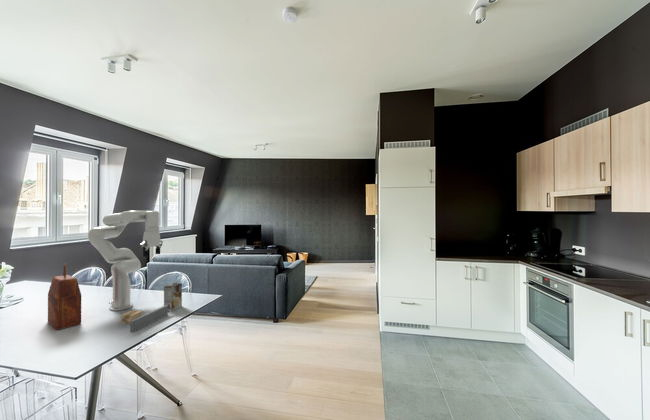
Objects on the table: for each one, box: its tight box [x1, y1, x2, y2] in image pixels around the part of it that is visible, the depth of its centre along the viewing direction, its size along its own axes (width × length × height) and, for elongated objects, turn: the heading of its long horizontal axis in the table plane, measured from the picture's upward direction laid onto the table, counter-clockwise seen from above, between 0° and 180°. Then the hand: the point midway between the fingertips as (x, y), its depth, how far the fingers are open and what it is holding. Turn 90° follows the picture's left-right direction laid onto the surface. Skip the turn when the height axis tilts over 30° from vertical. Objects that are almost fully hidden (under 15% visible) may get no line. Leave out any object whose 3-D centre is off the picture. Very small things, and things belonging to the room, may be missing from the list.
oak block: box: [120, 309, 143, 325], centre depth 155 cm, size 7×7×5 cm
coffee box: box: [163, 282, 183, 312], centre depth 175 cm, size 9×6×16 cm
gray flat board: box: [129, 304, 169, 333], centre depth 153 cm, size 2×24×6 cm, turn 169°
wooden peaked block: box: [47, 263, 82, 331], centre depth 151 cm, size 10×19×35 cm, turn 56°
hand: (151, 255), depth 171 cm, fingers open, 9 cm apart
